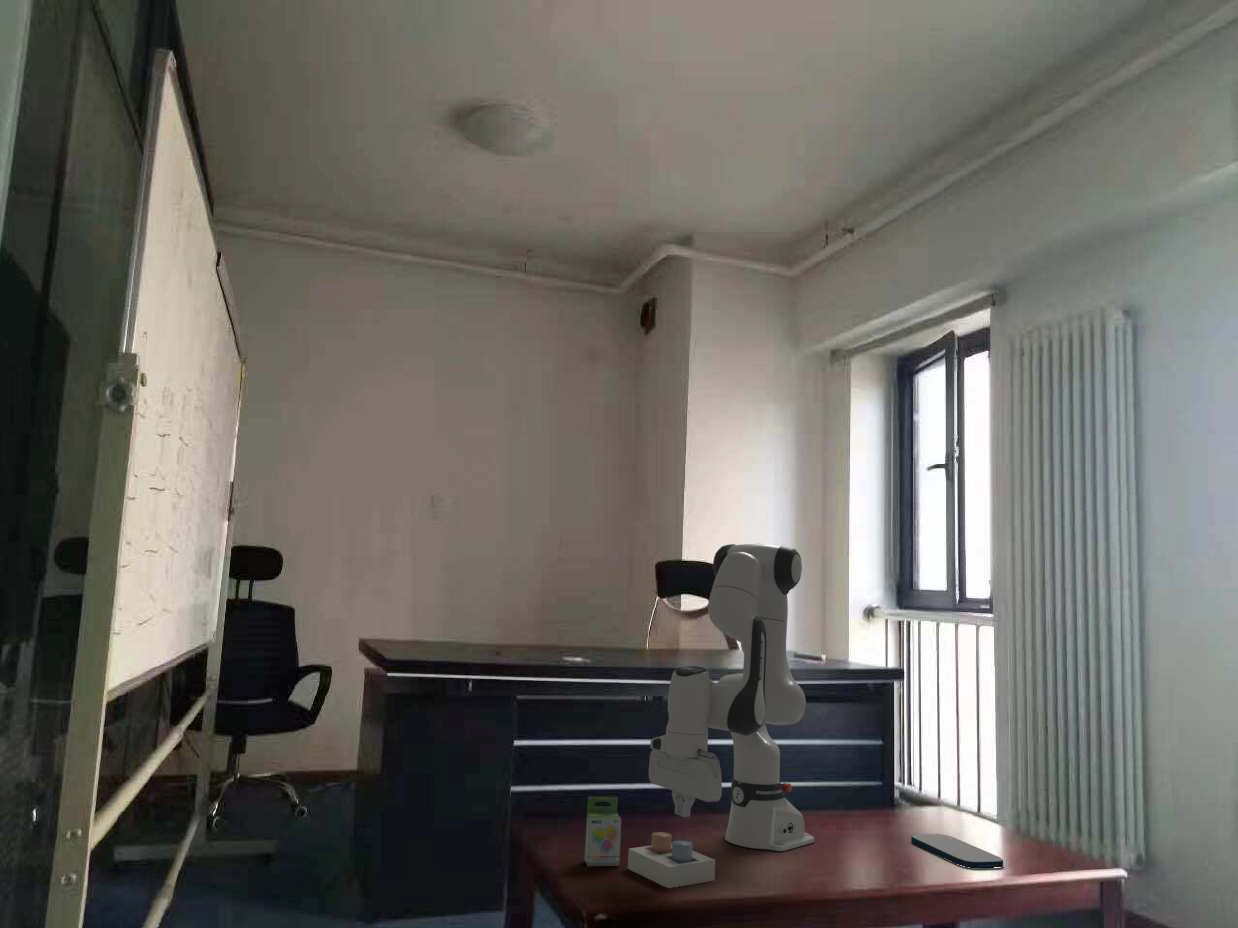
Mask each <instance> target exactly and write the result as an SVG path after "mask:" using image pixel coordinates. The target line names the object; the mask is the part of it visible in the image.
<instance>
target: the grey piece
mask: <svg viewBox="0 0 1238 928" xmlns="http://www.w3.org/2000/svg"><path fill="white" fill-rule="evenodd" d="M671 843H672V861H675V862H677V863H679V864H682V863H688V862H692V850H693V848H694V846H693V843H692V842H690V841H687V840H674V841H672V842H671ZM693 851H694V850H693Z"/></svg>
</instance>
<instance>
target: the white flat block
mask: <svg viewBox="0 0 1238 928" xmlns="http://www.w3.org/2000/svg"><path fill="white" fill-rule="evenodd" d="M627 851H628V852H627V855H628V856H627V869H628V870H629V871H631V872H634V873H636V874H637V875H639V876H641V877H642V876H643V877H644V878H646V879H648V880H651V881H652V882H654V883H657V884H658V885H660V886H662V887H664V888H666V887H667V889H668V888H669V889H674V888H678V887H679V886H680V887H684V886H685V885H686V886H691V885H697V884H701V883H707V882H714V881H715V878H716V859H714V858H711V857H709V856H707V855H704V854H702V853H699V852H697V851H695V850H692V862H688V863H682V864H679V863H677V862H675V861H672V842H671V853H666V854H657V853H654V852H652V851H651V845H645V846H639V847H631V848H630V847H629V848H628V850H627ZM686 886H685V887H686ZM673 887H674V888H673Z"/></svg>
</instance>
